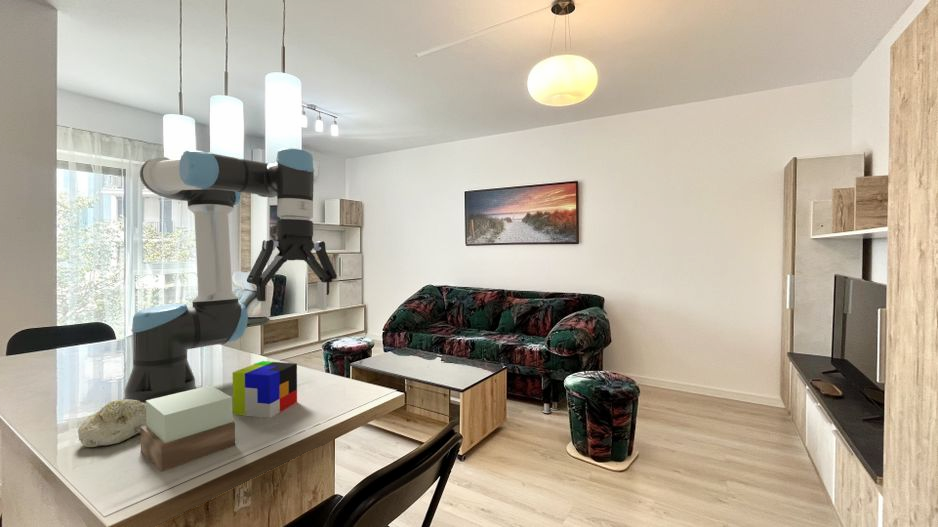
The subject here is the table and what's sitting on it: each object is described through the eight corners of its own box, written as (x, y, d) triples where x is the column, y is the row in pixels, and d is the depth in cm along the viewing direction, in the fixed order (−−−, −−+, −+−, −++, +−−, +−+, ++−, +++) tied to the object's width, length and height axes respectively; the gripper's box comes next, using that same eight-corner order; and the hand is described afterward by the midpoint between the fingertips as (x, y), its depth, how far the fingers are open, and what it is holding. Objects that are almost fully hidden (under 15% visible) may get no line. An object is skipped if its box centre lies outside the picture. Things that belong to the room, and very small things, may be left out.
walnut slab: (140, 452, 76) (140, 426, 76) (210, 430, 86) (210, 407, 86) (161, 473, 69) (161, 445, 69) (235, 446, 79) (235, 422, 79)
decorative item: (128, 402, 90) (159, 388, 87) (135, 441, 88) (166, 428, 86) (60, 416, 78) (92, 400, 76) (66, 461, 77) (100, 446, 74)
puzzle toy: (270, 418, 92) (269, 375, 91) (232, 414, 94) (232, 372, 93) (297, 402, 102) (296, 363, 101) (262, 398, 104) (262, 361, 103)
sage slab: (146, 426, 77) (145, 400, 76) (210, 408, 85) (210, 385, 85) (164, 443, 70) (164, 415, 70) (232, 422, 79) (232, 397, 78)
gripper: (245, 214, 78) (246, 321, 78) (351, 222, 98) (351, 307, 98) (228, 215, 82) (229, 317, 83) (333, 223, 102) (332, 305, 103)
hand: (295, 312), depth 91 cm, fingers open, 13 cm apart
